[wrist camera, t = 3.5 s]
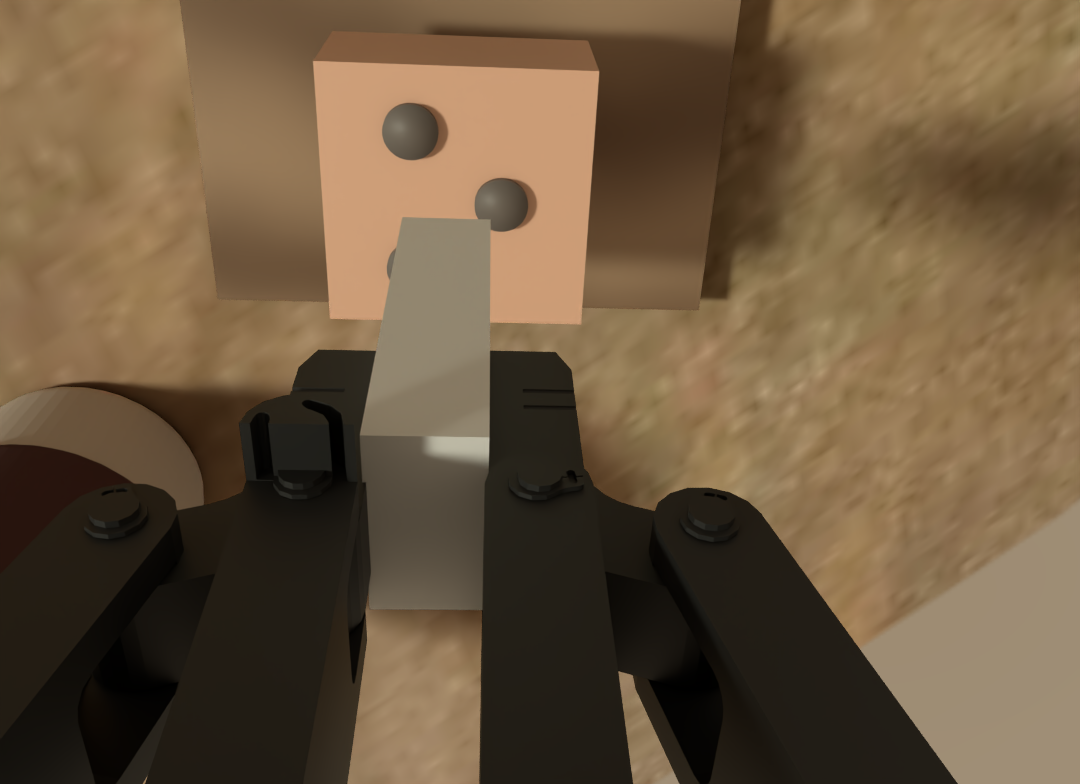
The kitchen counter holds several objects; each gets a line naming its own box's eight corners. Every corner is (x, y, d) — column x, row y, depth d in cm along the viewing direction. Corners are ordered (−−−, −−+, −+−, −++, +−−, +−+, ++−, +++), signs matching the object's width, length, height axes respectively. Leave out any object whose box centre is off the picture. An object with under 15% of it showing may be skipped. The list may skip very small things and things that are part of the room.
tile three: (332, 30, 24) (311, 63, 21) (588, 40, 24) (600, 73, 22) (345, 267, 27) (329, 322, 24) (572, 273, 27) (581, 328, 25)
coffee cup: (192, 318, 31) (-21, 700, 18) (284, 567, 36) (168, 1004, 23) (-123, 368, 31) (-550, 775, 19) (11, 607, 36) (-251, 1058, 24)
